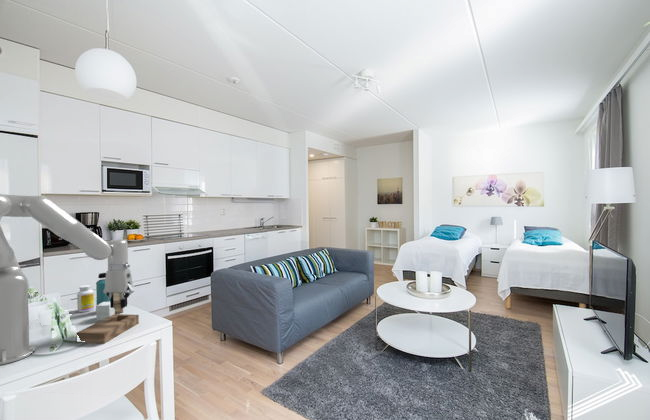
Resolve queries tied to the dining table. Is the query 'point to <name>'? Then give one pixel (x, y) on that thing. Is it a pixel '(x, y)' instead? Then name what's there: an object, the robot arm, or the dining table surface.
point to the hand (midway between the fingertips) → (118, 306)
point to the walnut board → (108, 328)
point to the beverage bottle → (101, 290)
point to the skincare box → (104, 310)
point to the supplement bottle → (85, 299)
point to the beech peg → (117, 303)
